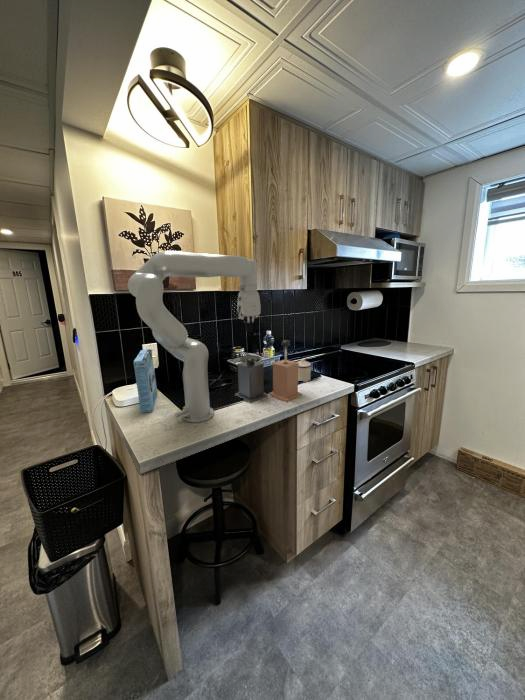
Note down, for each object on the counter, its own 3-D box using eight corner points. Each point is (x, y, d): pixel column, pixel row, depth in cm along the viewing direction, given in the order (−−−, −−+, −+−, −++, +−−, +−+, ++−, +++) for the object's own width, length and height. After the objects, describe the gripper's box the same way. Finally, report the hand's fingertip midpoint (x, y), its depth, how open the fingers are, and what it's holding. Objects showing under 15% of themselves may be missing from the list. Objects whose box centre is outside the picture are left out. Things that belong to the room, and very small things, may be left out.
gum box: (152, 412, 115) (146, 360, 109) (139, 413, 114) (132, 361, 108) (157, 393, 134) (152, 348, 128) (146, 395, 132) (140, 349, 126)
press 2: (286, 402, 122) (286, 368, 118) (266, 394, 131) (266, 362, 127) (301, 395, 130) (302, 363, 126) (282, 388, 139) (282, 357, 134)
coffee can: (243, 379, 152) (242, 354, 148) (261, 379, 151) (261, 355, 147) (239, 386, 142) (238, 360, 138) (259, 386, 141) (258, 360, 137)
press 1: (250, 403, 122) (249, 369, 118) (233, 395, 131) (231, 363, 127) (267, 395, 130) (267, 363, 125) (250, 388, 138) (249, 358, 134)
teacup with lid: (314, 380, 148) (315, 360, 145) (300, 383, 144) (301, 362, 141) (301, 374, 159) (301, 354, 156) (288, 376, 155) (288, 357, 152)
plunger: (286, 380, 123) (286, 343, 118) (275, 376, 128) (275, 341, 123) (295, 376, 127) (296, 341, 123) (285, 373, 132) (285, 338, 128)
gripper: (240, 290, 109) (241, 334, 114) (266, 289, 119) (266, 330, 124) (229, 289, 115) (230, 332, 119) (255, 288, 125) (255, 328, 129)
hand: (249, 331), depth 122 cm, fingers closed
